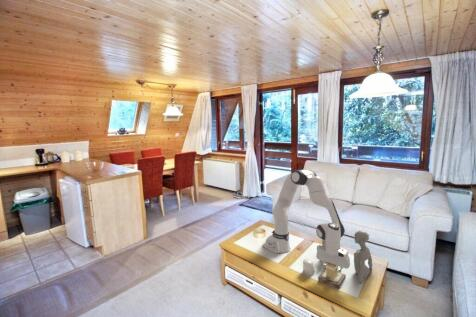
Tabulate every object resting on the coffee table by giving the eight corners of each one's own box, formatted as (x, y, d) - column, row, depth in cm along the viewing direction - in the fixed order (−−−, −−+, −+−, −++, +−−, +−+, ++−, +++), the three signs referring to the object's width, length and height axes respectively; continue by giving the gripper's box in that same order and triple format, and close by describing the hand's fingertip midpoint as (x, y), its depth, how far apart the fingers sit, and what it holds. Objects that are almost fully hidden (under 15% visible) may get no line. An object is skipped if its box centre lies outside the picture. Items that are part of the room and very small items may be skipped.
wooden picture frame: (318, 280, 155) (318, 276, 154) (325, 270, 165) (325, 266, 164) (339, 288, 147) (339, 284, 146) (345, 278, 157) (345, 273, 156)
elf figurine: (358, 263, 172) (360, 223, 168) (373, 268, 165) (376, 227, 161) (346, 278, 157) (348, 234, 152) (362, 285, 150) (364, 239, 145)
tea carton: (326, 276, 154) (326, 264, 153) (329, 270, 160) (330, 259, 159) (334, 279, 151) (334, 267, 150) (337, 273, 157) (338, 262, 155)
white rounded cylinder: (301, 273, 163) (301, 262, 162) (305, 268, 169) (305, 257, 167) (311, 276, 159) (311, 265, 158) (315, 271, 164) (315, 260, 163)
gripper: (314, 246, 157) (314, 265, 159) (348, 256, 144) (347, 277, 146) (318, 242, 162) (318, 261, 164) (351, 252, 149) (350, 272, 151)
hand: (332, 269), depth 155 cm, fingers open, 8 cm apart
